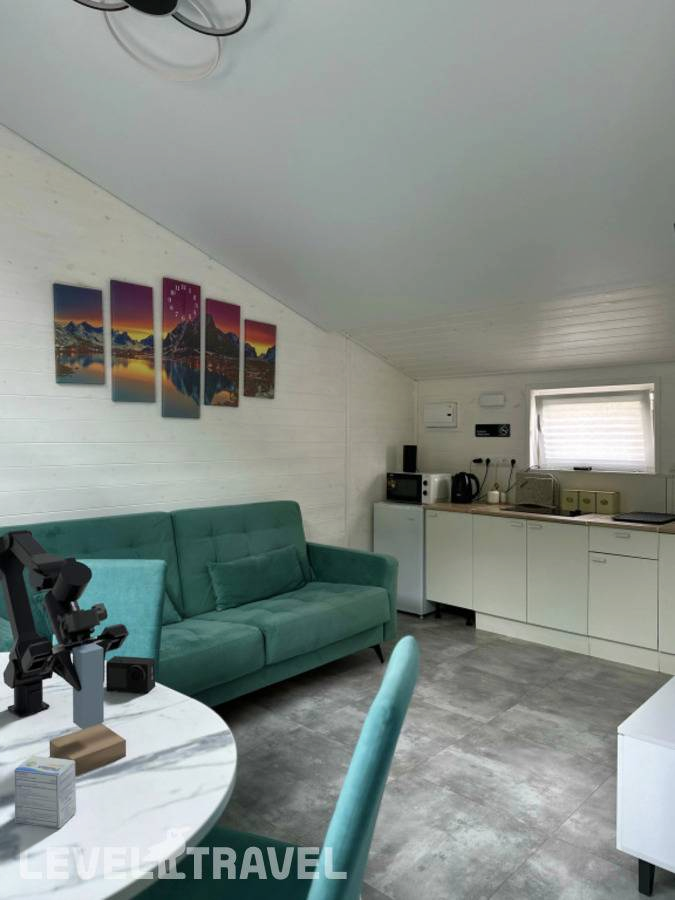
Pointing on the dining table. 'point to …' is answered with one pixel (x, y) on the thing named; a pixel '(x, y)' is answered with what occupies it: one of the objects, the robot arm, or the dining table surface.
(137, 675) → the digital camera
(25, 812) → the medicine box
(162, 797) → the dining table surface
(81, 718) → the slate pillar
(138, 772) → the dining table surface
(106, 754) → the walnut block
